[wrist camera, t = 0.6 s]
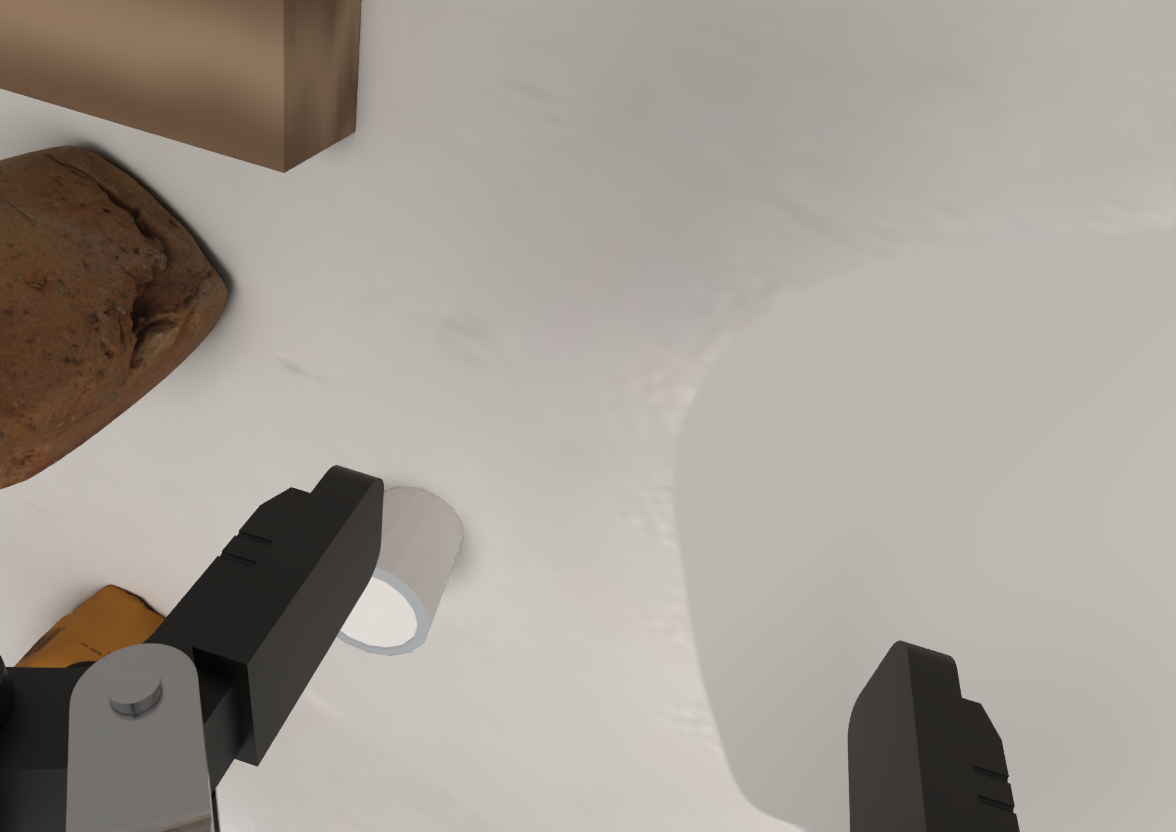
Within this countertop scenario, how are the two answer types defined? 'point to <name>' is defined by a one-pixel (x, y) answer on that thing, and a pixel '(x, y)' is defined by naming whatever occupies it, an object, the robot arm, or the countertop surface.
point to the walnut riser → (195, 69)
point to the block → (88, 302)
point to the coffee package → (94, 631)
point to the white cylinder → (405, 574)
